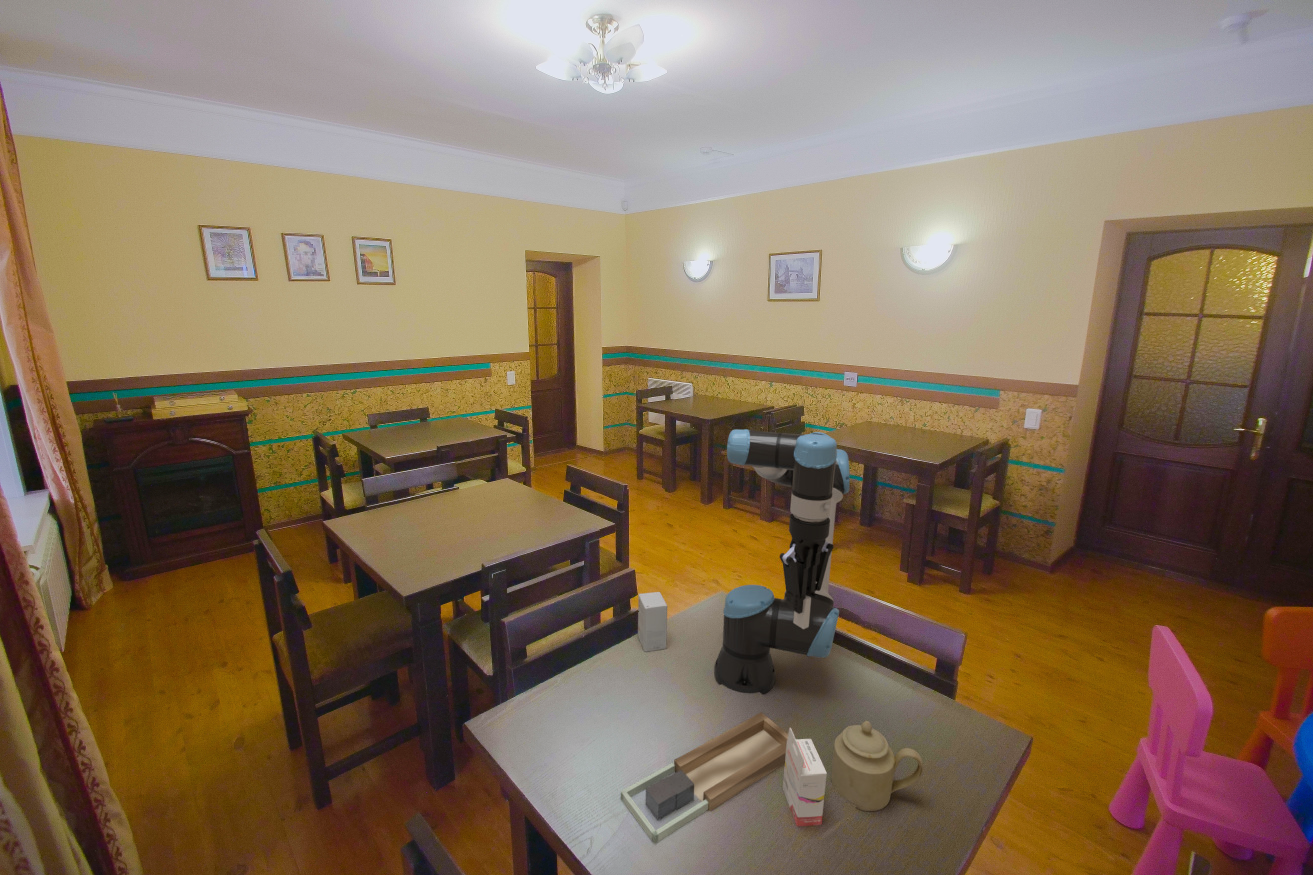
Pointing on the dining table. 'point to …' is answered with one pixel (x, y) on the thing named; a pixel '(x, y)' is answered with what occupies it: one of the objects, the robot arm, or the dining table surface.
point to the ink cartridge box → (804, 781)
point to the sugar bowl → (868, 767)
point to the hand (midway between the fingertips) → (800, 624)
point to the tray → (652, 833)
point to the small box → (652, 621)
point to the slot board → (734, 759)
